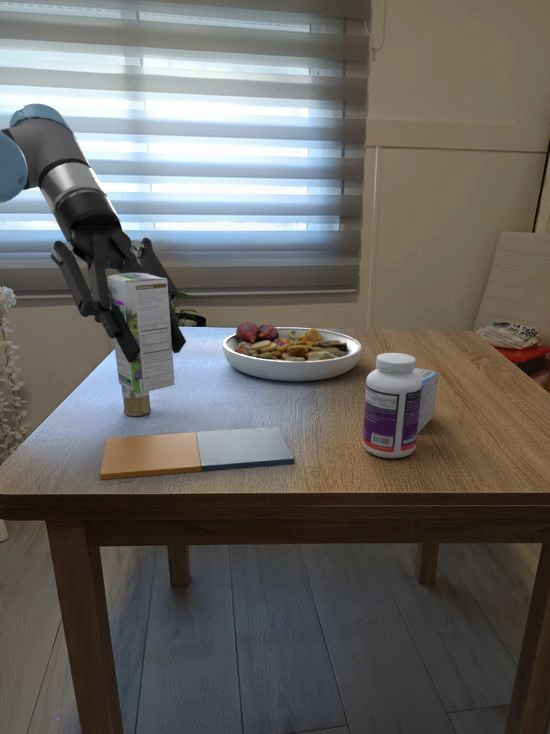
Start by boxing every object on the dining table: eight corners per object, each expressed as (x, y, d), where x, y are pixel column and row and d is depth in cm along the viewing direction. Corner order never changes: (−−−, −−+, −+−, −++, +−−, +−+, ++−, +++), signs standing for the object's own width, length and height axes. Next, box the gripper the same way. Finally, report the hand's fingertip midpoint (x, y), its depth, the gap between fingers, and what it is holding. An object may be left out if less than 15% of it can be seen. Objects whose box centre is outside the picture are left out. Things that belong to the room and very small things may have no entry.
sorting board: (100, 479, 75) (99, 474, 75) (107, 442, 86) (106, 437, 85) (294, 463, 81) (294, 458, 81) (278, 430, 92) (278, 426, 92)
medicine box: (408, 414, 101) (413, 366, 98) (433, 419, 99) (439, 371, 96) (392, 428, 95) (397, 378, 91) (418, 434, 93) (424, 383, 89)
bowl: (380, 359, 133) (383, 326, 130) (321, 396, 108) (322, 355, 105) (270, 341, 145) (270, 310, 142) (194, 370, 120) (192, 333, 117)
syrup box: (117, 383, 78) (103, 274, 72) (156, 375, 82) (146, 270, 76) (136, 395, 74) (124, 281, 68) (177, 385, 78) (168, 276, 72)
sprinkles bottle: (151, 416, 96) (144, 337, 91) (122, 418, 95) (114, 338, 90) (151, 406, 100) (145, 330, 95) (123, 408, 99) (116, 331, 94)
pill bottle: (404, 437, 91) (413, 349, 86) (423, 459, 84) (434, 364, 79) (355, 440, 90) (361, 350, 84) (370, 462, 82) (377, 366, 77)
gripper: (136, 227, 87) (206, 354, 83) (3, 230, 74) (79, 381, 70) (153, 190, 81) (229, 324, 77) (12, 186, 68) (95, 348, 64)
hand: (157, 351), depth 74 cm, fingers closed on syrup box, 6 cm apart
